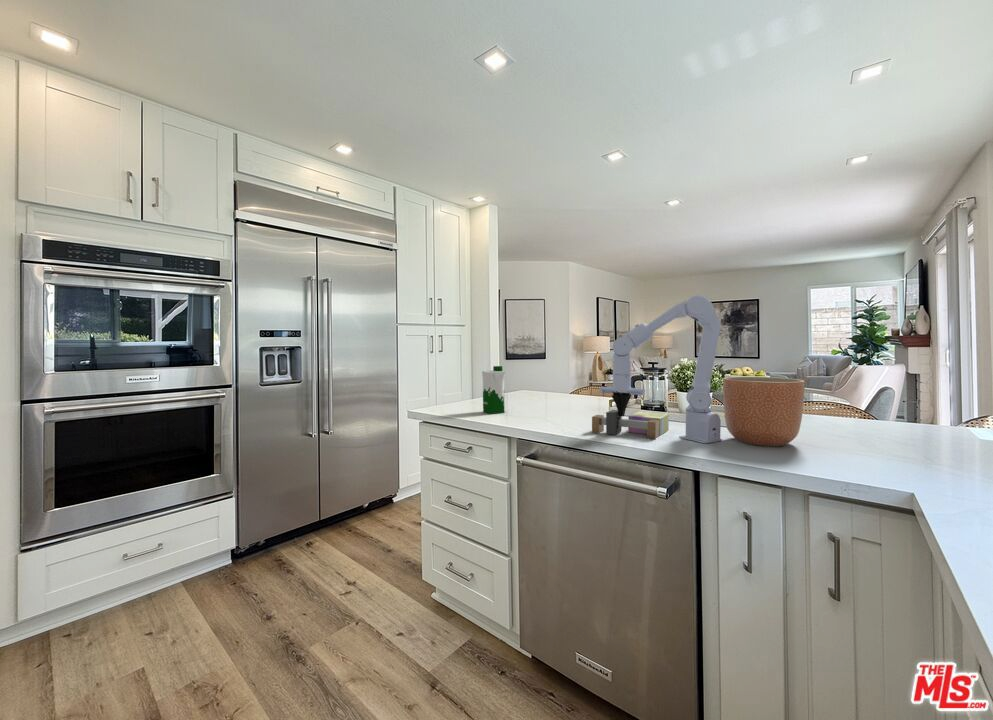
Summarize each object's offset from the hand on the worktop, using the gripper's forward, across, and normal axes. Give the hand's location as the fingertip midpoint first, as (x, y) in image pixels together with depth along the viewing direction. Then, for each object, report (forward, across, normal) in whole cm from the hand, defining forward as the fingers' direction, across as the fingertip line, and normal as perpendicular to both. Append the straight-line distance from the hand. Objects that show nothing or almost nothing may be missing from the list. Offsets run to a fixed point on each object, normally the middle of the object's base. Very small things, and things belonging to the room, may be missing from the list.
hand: (621, 415), depth 143 cm
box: (+3, -7, -16) cm, 17 cm away
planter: (+6, -39, -10) cm, 41 cm away
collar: (+6, +2, 0) cm, 6 cm away
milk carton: (+6, +61, -17) cm, 63 cm away
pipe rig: (+6, -1, 0) cm, 6 cm away
